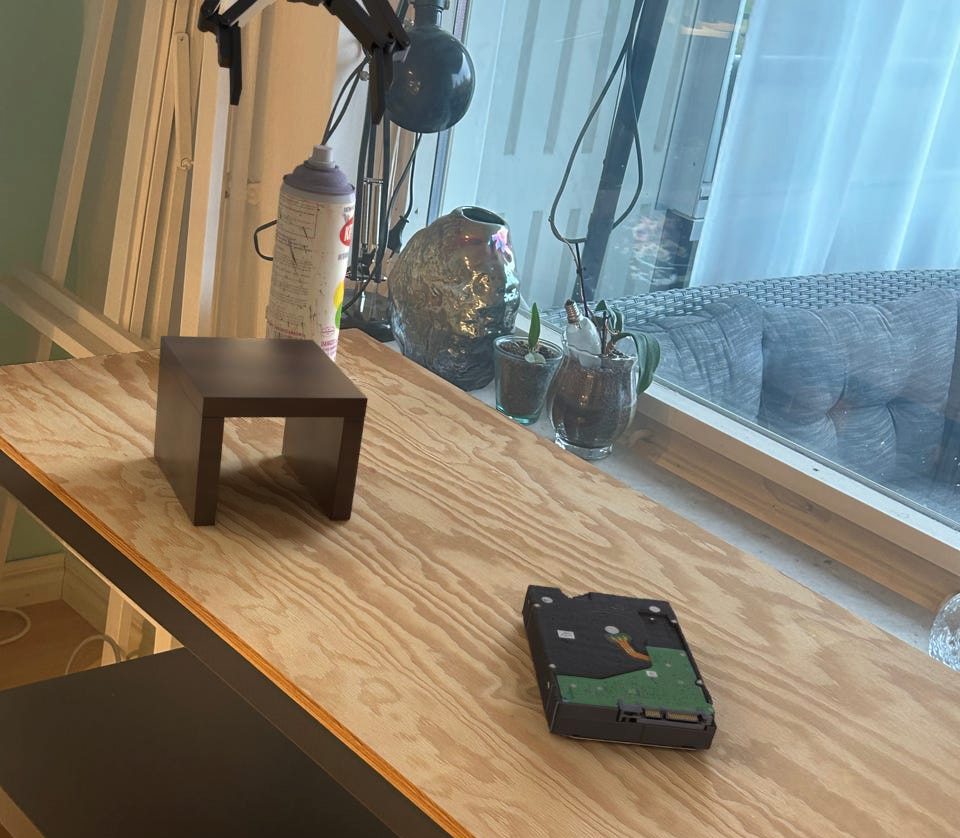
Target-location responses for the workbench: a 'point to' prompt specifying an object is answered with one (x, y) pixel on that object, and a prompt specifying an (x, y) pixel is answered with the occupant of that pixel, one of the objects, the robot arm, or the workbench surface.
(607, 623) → the disk drive
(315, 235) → the aerosol can
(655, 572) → the workbench surface
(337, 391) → the shelf
